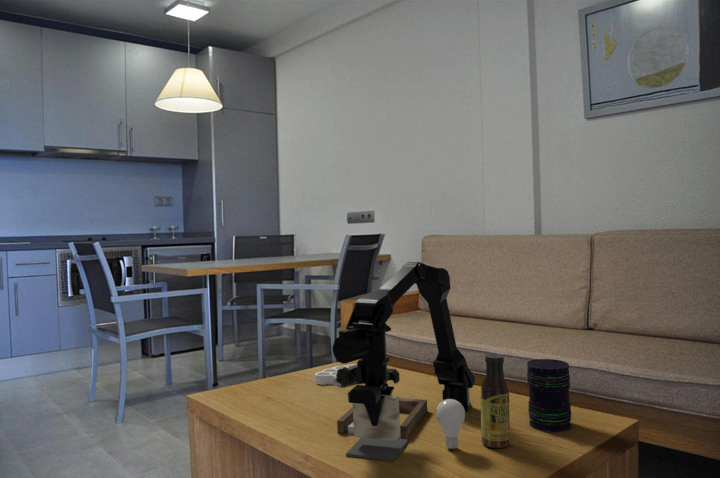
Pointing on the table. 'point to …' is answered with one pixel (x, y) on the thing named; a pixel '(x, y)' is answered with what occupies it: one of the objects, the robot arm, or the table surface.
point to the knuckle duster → (329, 375)
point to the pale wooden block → (386, 425)
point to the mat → (377, 449)
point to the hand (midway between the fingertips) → (376, 423)
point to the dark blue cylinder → (549, 395)
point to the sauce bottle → (495, 404)
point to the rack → (405, 405)
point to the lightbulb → (450, 420)
